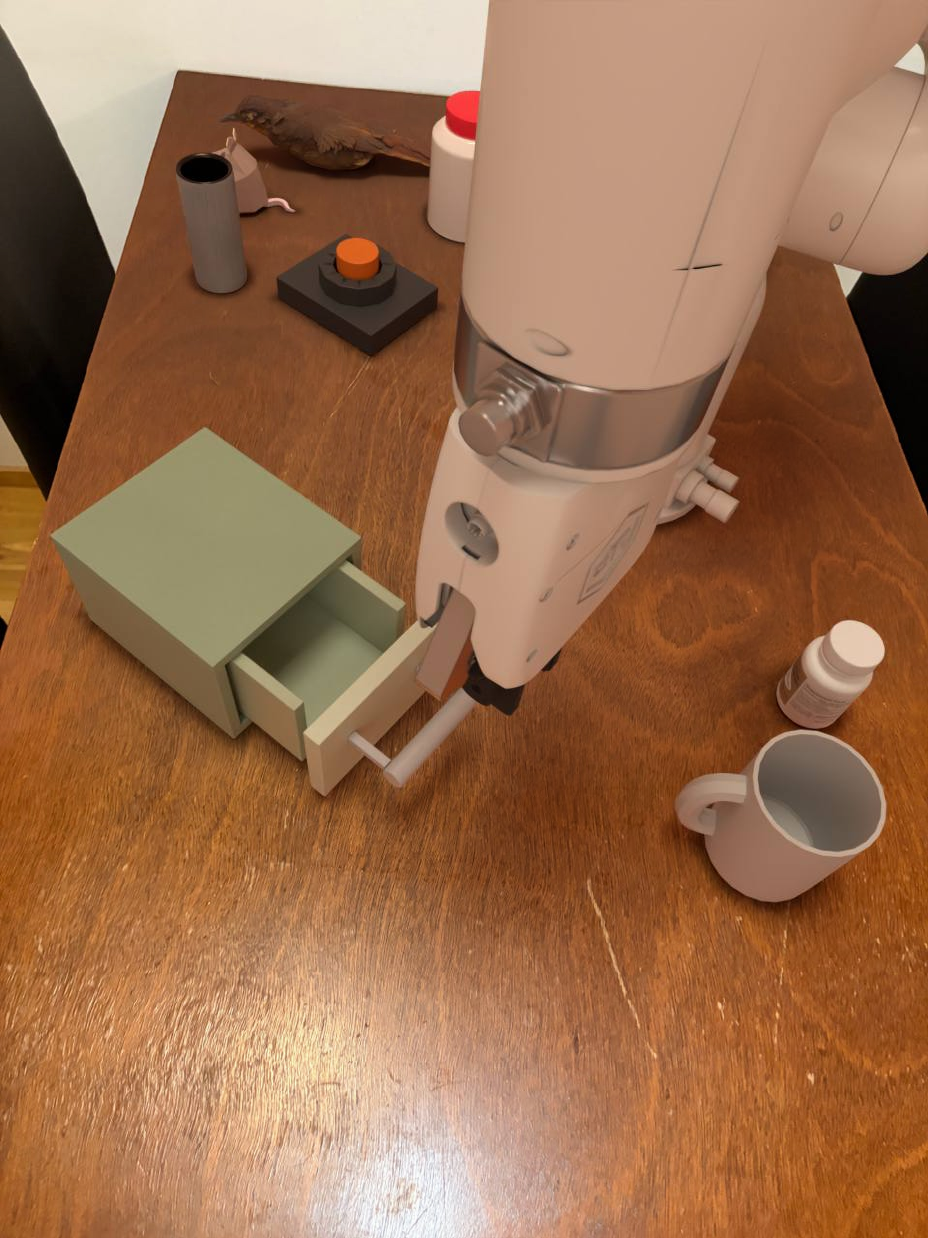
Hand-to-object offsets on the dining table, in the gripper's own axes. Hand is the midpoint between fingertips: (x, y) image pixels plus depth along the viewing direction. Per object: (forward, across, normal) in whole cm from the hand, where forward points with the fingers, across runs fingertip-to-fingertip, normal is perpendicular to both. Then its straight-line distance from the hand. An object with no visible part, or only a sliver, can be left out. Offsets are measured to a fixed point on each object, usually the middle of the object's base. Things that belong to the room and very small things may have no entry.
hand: (505, 670), depth 40 cm
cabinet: (+17, 0, +21) cm, 27 cm away
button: (+14, +31, +37) cm, 50 cm away
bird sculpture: (+17, +46, +53) cm, 72 cm away
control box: (+17, +31, +37) cm, 51 cm away
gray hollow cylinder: (+17, +25, +48) cm, 57 cm away
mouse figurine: (+17, +35, +54) cm, 67 cm away
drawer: (+16, 0, +11) cm, 20 cm away
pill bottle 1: (+17, +48, +38) cm, 64 cm away
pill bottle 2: (+17, +21, -13) cm, 30 cm away
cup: (+17, +9, -14) cm, 24 cm away
